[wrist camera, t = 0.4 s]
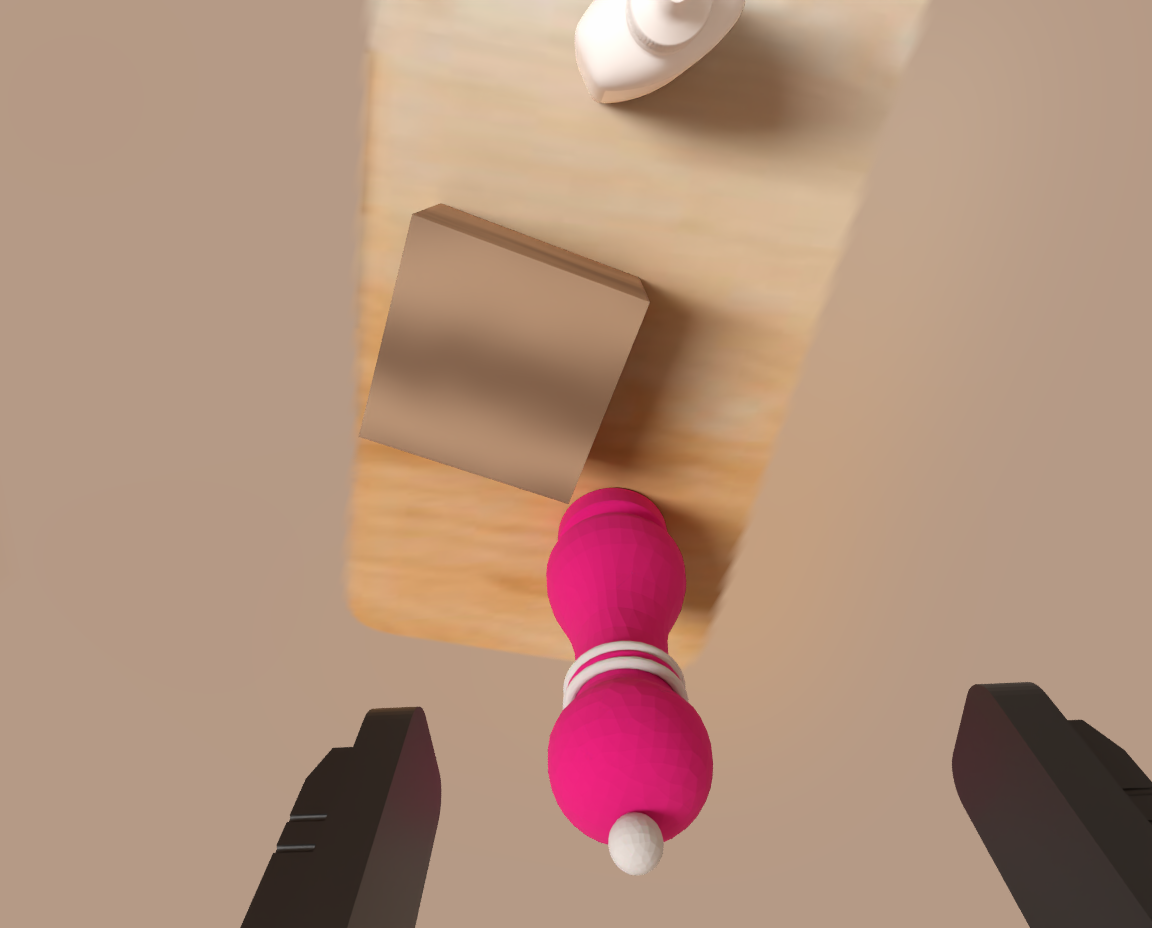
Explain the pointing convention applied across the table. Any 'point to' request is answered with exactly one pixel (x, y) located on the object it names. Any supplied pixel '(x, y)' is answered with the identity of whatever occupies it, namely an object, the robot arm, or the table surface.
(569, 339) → the walnut box
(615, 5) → the eye dropper bottle
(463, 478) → the table surface
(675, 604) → the pepper mill
